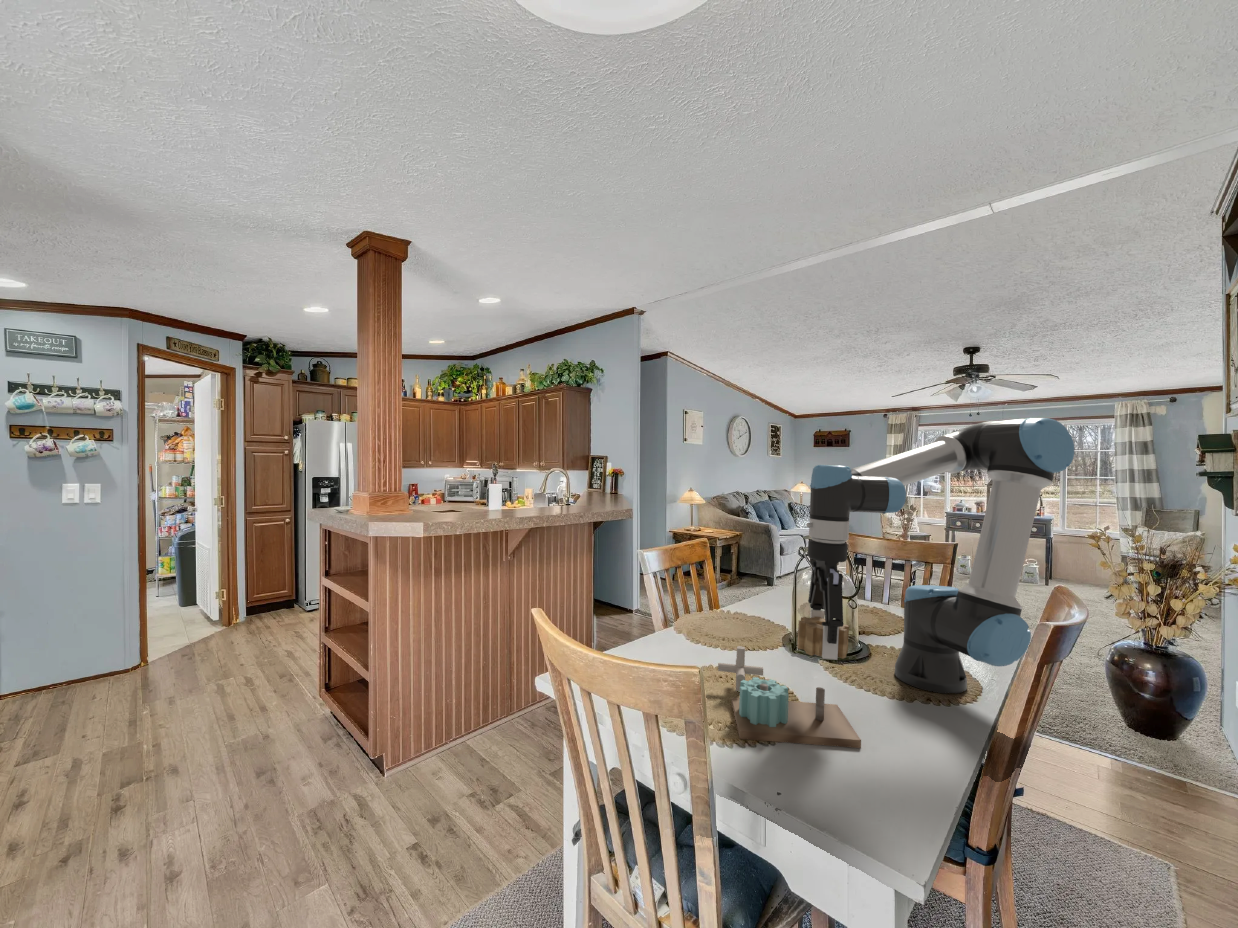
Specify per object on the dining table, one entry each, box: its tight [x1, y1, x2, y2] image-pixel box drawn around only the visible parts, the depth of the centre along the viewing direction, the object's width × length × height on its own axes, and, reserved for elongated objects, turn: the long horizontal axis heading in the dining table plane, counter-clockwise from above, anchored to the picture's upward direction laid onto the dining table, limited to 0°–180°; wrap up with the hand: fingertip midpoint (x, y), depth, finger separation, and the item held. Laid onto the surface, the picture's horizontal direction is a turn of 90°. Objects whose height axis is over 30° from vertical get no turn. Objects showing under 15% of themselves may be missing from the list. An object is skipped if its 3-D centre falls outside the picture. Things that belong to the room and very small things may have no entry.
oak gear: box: [796, 616, 850, 660], centre depth 106 cm, size 10×10×6 cm
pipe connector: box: [717, 645, 764, 692], centre depth 118 cm, size 10×10×10 cm
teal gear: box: [739, 676, 789, 727], centre depth 104 cm, size 10×10×6 cm
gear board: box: [730, 684, 862, 749], centre depth 104 cm, size 22×14×8 cm, turn 84°
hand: (822, 648), depth 106 cm, fingers closed on oak gear, 10 cm apart
